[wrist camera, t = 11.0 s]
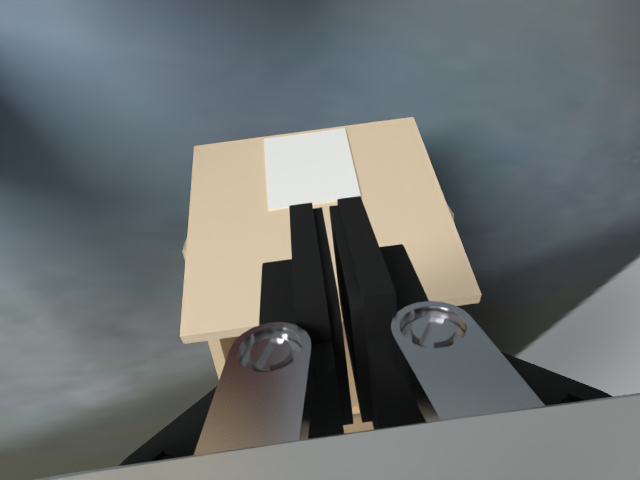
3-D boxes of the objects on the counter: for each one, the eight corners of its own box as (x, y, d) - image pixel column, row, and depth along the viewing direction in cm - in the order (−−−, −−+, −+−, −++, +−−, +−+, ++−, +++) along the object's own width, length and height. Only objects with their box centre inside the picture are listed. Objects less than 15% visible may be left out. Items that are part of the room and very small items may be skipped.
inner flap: (412, 125, 27) (413, 115, 27) (479, 302, 20) (482, 293, 20) (197, 154, 27) (193, 144, 27) (184, 343, 20) (179, 335, 19)
